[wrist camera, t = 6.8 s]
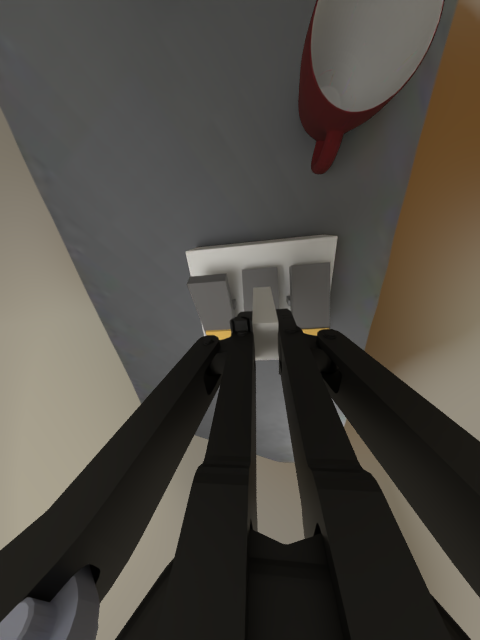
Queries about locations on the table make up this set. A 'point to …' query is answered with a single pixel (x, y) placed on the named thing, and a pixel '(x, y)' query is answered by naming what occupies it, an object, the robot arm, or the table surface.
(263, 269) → the rocker
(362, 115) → the mug
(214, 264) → the switch unit
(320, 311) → the rocker
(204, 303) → the rocker
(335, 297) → the table surface
